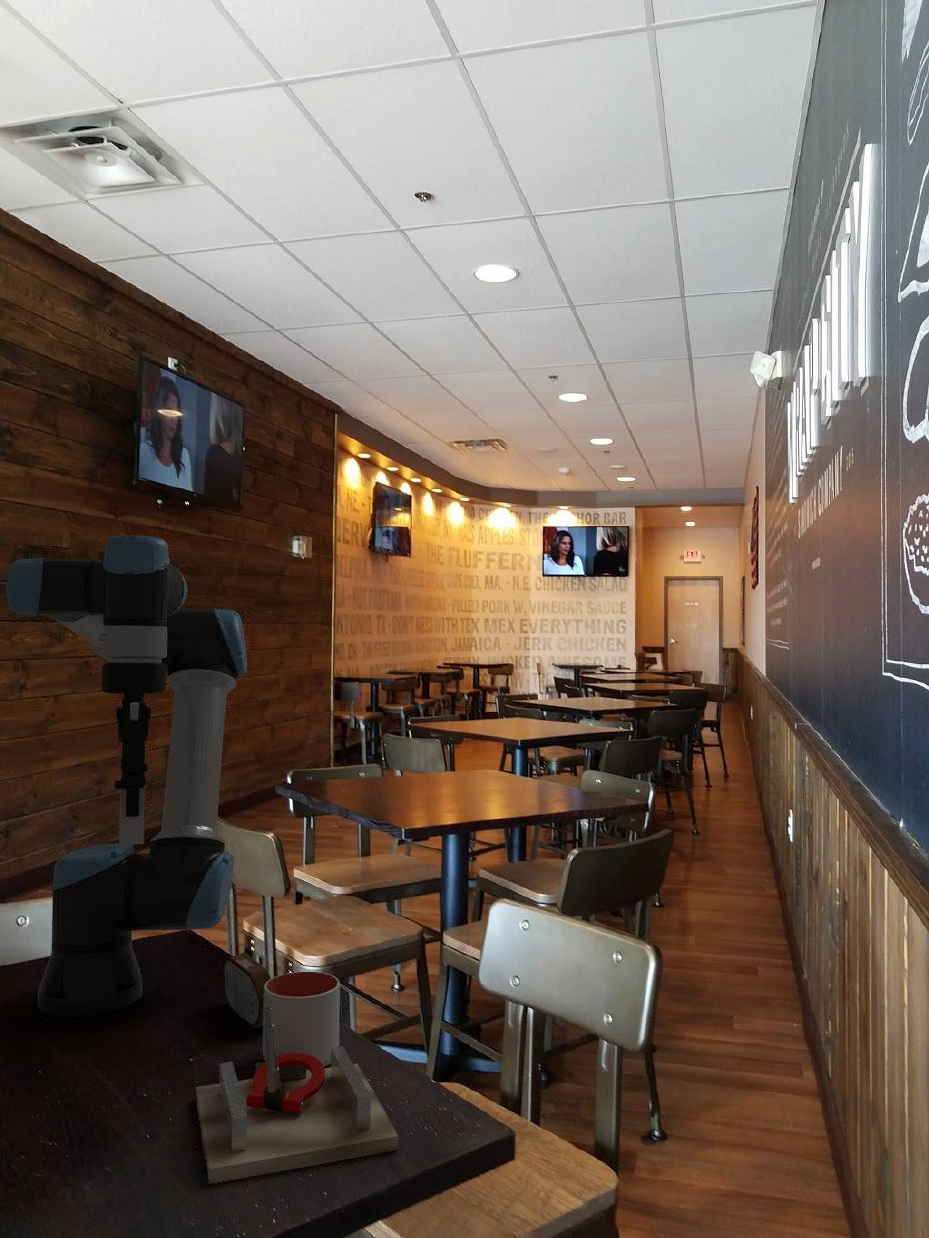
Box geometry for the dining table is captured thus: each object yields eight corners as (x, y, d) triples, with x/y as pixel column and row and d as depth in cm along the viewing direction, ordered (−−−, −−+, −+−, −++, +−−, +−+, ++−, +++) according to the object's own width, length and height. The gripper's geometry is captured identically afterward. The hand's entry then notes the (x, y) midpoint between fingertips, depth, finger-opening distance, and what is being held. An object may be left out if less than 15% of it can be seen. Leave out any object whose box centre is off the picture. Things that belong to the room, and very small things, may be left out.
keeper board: (195, 1099, 113) (195, 1086, 113) (357, 1075, 120) (357, 1063, 120) (209, 1184, 95) (209, 1169, 95) (398, 1149, 102) (398, 1135, 102)
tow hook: (270, 1057, 116) (238, 1109, 107) (263, 963, 114) (230, 1008, 105) (334, 1064, 115) (307, 1118, 106) (329, 969, 112) (301, 1016, 103)
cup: (272, 1043, 129) (273, 970, 130) (344, 1044, 129) (345, 971, 129) (254, 1076, 119) (255, 996, 120) (331, 1077, 119) (332, 998, 119)
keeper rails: (217, 1085, 113) (217, 1056, 114) (339, 1067, 119) (339, 1039, 119) (231, 1152, 98) (232, 1118, 98) (370, 1128, 103) (370, 1096, 104)
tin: (277, 1033, 133) (278, 973, 133) (256, 1038, 131) (257, 977, 131) (239, 1000, 145) (240, 945, 146) (219, 1004, 144) (220, 948, 144)
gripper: (104, 659, 126) (100, 817, 125) (99, 662, 103) (95, 856, 102) (162, 660, 129) (159, 814, 128) (171, 662, 105) (167, 851, 105)
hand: (131, 833), depth 115 cm, fingers open, 13 cm apart
